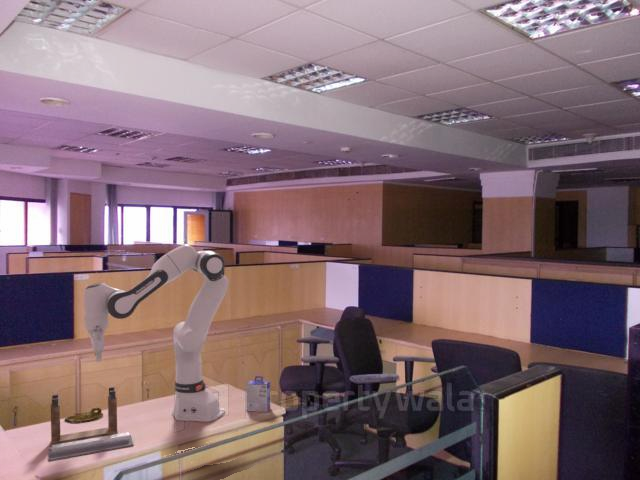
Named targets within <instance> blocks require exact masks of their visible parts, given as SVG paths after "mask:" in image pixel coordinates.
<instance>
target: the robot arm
mask: <svg viewBox="0 0 640 480" xmlns="http://www.w3.org/2000/svg"><path fill="white" fill-rule="evenodd" d="M225 266H226V263H225V260H224V257H223V256H222V255H221V254H219V253H218V252H215V251H213V250H204V249H203V250H202V249H201V250H196V249H195V247H193V246H192V245H190V244H186V243H185V244H182V245H179V246H177V247H176V248H174V249H172V250H170V251H168V252H167V253H165V254H164V255H162V256H160V258H159V259H157V260H156V262H154V264H153V265H152V267H151V270H150V272H149V273H148V275H147V276H146V277H145V278H144V279H143V280H141V281H140V282H139V283H137V284H136V285H135V286H133V287H132V288H130V289H128V290H127V291H126V290H123V289H119V288H115V287H112V286H109V285H107V284H106V283H104V282H99V283H93V284H89V285H88V286H87V287H86V288H85V289H84V292H83V309H84V316H83V321H84V330H85V331H87V333H88V334H89V339H90V343H91V345H92V348H93V352H94V356H95V358H96V359H95V360H96V362H101V361H102V352H104V351H105V336H104V333H105V332H106V330H107V329H109V327H110V326H109V315H110V316H111V317H113V318H115V319H121V320H122V319H123V320H124V319H126V318H128V317H130V316H131V315H132V314H133V313H134V312H135V310H136V308H137V306H138V305H139V304H141V302H142V301H144V300H145V299H146V298H148V297H149V296H151V294H153V293H154V292H156V291H157V290H158V289H160V288H162V287H163V286H165V285H167V284H169V283H172V282H173V281H174V280H176V279H178V278H179V277H181V276H183V274H184V273H186V272H188V271H189V270H193V271H195V272H196V273H198V274H200V275H202V276H203V281H202V286H201V287H200V288H199V290H198V292H197V293H196V295H195V298H194V299H193V301H192V303H191V305H190V307H189V310H188V313H187V316H186V319H185V321H181V322H179V323H177V324H176V325H175V326H174V328H173V331H172V337H173V338H172V339H173V351H174V360H175V361H174V363H175V382H174V392H175V398H174V406H173V410H172V416H173V417H174V420H175V421H181V422H182V421H183V422H184V421H185V422H186V421H187V422H200V423H201V422H203V423H204V422H205V423H209V422H212V421H216V420H217V419H219V418H220V417H222V416H223V415H224V414H225V413H226V409H225V408H223V407H220V402H219V399H218V397H217V396H216V395H214V394H213V393H212V392H211V391H209V389H207V387H206V386H207V385H208V381H206V382H205V381H204V379H203V362H202V357H201V356H202V355H201V349H203V347H204V344H205V341H206V338H207V335H208V334H209V333H208V332H209V330H210V327H211V324H212V322H213V319H214V317H215V315H216V313H217V311H218V309H219V308H220V306H221V303H222V302H223V300H224V298H225V297H226V293H227V291H228V288H229V285H230V281H229V279H228V277H227V276H226V275H225Z"/></svg>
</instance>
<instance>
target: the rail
mask: <svg viewBox="0 0 640 480" xmlns="http://www.w3.org/2000/svg"><path fill="white" fill-rule="evenodd" d="M130 435H131V434H130V433H129V431H126V432H120V433H118V434H114V435H108V436H103V437H97V438H91V439H85V440H79V441H73V442H67V443H62V444H56V445H52V447H51V448H52V455H56V454H62V453H68V452H73V451H79V450H85V449H90V448H96V447H101V446H107V445H113V444H118V443H124V442H129V441H130Z"/></svg>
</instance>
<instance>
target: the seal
mask: <svg viewBox="0 0 640 480" xmlns="http://www.w3.org/2000/svg"><path fill="white" fill-rule="evenodd" d="M103 417H104V413H103V412H102V407H93V408H91V410H90V411H87V412H80V413H79V412H78V413H75V414H73V415H68V416H67V417H65V418H64V422H67V423H70V424H83V423H84V424H85V423H88V422H89V423H90V422H93V421H97V420H99V419H101V418H103Z"/></svg>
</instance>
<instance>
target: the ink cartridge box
mask: <svg viewBox="0 0 640 480" xmlns="http://www.w3.org/2000/svg"><path fill="white" fill-rule="evenodd" d="M259 378H260V379H259ZM245 388H246V389H245V390H246V391H245V392H246V394H245V395H246V398H245V399H246V401H245V403H246V404H245V406H246V410H245V411H246V412H262V413H268V412H269V410H271V381H270V380H269V381H268V380H267V381H266V380H265V381H264V376H262V375H261V376H259V375H255V378H254V380H249V381H248V382H247V383H246V387H245Z"/></svg>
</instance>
